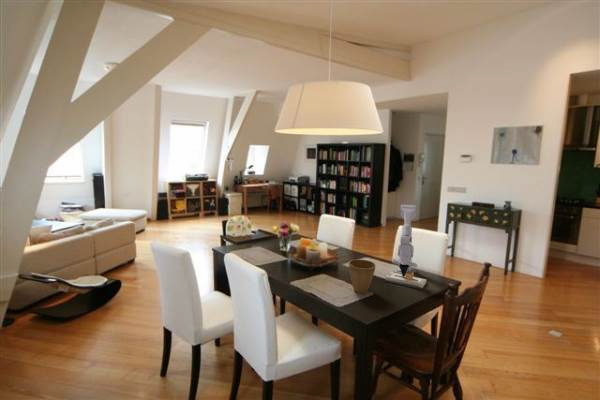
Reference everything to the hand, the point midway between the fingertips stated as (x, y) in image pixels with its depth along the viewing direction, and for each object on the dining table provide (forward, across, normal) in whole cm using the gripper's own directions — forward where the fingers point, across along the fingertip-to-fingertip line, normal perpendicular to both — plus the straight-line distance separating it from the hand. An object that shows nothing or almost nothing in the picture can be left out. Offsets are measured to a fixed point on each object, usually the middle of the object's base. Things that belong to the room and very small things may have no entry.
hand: (403, 276), depth 202 cm
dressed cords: (+3, +1, 0) cm, 3 cm away
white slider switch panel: (+3, +1, 0) cm, 3 cm away
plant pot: (+3, -16, -29) cm, 33 cm away
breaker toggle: (+1, +3, 0) cm, 4 cm away
